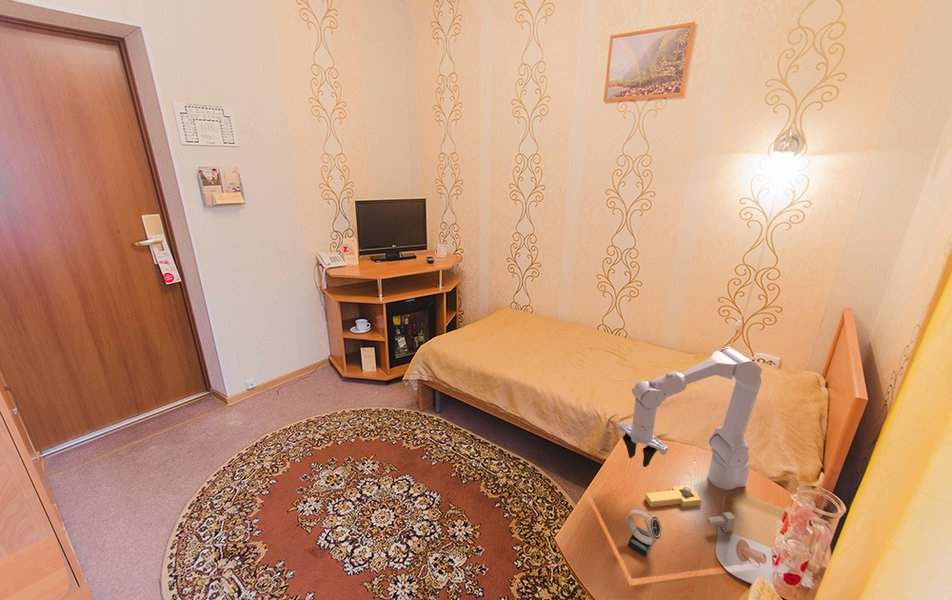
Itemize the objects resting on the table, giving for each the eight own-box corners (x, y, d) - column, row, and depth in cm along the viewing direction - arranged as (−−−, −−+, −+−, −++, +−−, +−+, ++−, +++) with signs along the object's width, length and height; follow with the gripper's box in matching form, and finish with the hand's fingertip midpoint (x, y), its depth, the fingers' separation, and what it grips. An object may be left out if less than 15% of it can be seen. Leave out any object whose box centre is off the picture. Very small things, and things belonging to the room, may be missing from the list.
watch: (653, 565, 94) (658, 531, 91) (620, 545, 99) (624, 512, 96) (660, 549, 98) (666, 515, 95) (629, 531, 103) (633, 498, 100)
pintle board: (696, 486, 117) (699, 471, 116) (738, 535, 101) (742, 519, 100) (633, 492, 115) (635, 478, 114) (666, 544, 99) (669, 527, 98)
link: (688, 490, 114) (689, 485, 114) (700, 505, 109) (701, 499, 109) (643, 495, 113) (643, 490, 112) (653, 510, 108) (653, 505, 107)
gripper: (613, 415, 114) (609, 453, 118) (660, 440, 102) (654, 481, 107) (627, 406, 118) (623, 443, 122) (674, 430, 106) (667, 470, 111)
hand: (638, 460), depth 114 cm, fingers open, 4 cm apart
